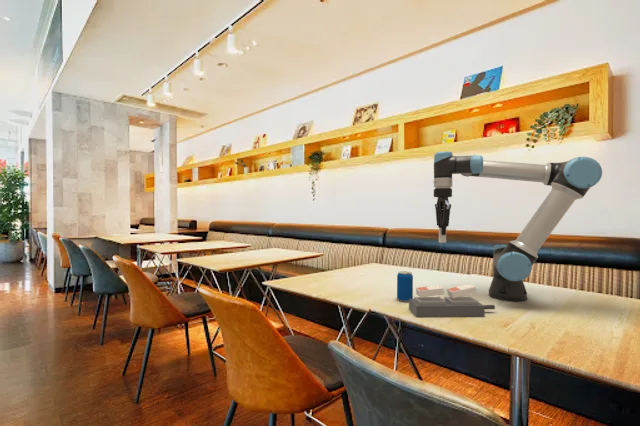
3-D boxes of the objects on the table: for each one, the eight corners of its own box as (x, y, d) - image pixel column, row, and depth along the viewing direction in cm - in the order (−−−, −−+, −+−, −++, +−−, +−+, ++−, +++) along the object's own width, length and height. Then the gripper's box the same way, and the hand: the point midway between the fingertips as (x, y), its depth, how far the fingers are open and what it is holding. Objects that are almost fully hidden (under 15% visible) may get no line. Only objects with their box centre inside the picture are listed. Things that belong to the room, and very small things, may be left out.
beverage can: (413, 303, 147) (413, 274, 146) (397, 302, 148) (397, 273, 148) (412, 298, 153) (412, 271, 153) (396, 298, 154) (397, 270, 154)
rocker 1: (439, 291, 136) (438, 284, 136) (444, 294, 131) (443, 287, 131) (416, 294, 136) (415, 287, 136) (420, 297, 131) (419, 290, 131)
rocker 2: (470, 290, 136) (469, 283, 136) (476, 293, 131) (475, 286, 131) (447, 294, 136) (446, 288, 136) (453, 298, 131) (451, 291, 131)
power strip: (487, 308, 139) (487, 295, 139) (500, 316, 129) (500, 302, 129) (408, 308, 138) (409, 295, 138) (416, 317, 128) (416, 302, 128)
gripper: (429, 188, 159) (428, 240, 159) (439, 187, 146) (439, 244, 146) (445, 188, 159) (445, 240, 160) (457, 187, 146) (457, 244, 147)
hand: (442, 242), depth 153 cm, fingers closed
